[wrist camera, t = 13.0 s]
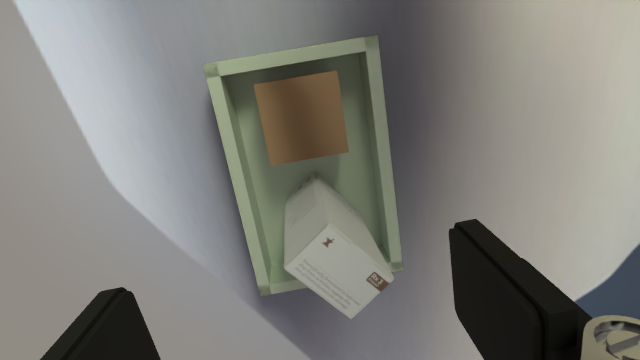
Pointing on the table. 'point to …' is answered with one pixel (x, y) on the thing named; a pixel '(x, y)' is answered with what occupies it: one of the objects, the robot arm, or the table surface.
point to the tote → (337, 170)
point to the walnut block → (302, 117)
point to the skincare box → (332, 248)
